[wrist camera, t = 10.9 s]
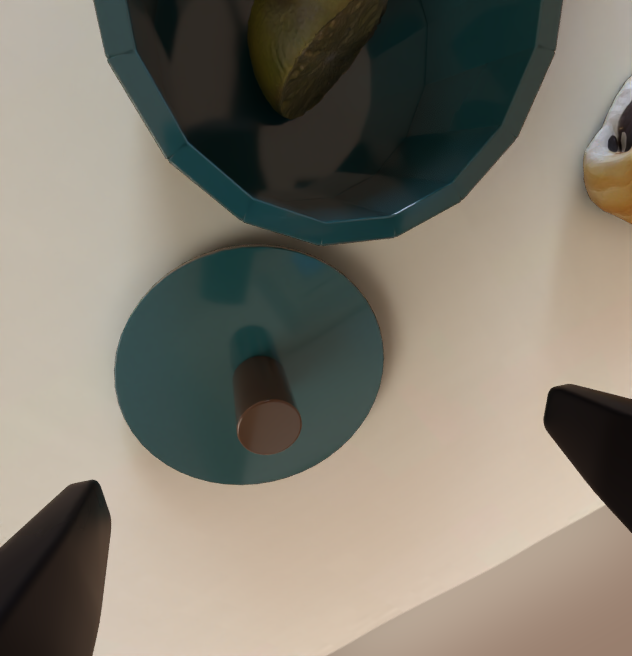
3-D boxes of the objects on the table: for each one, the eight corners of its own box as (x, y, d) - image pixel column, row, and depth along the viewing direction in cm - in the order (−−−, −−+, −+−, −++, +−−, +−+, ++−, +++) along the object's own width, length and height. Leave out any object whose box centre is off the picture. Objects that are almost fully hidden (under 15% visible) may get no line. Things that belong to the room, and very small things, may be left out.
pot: (374, -211, 14) (513, -527, 7) (466, 139, 19) (595, 128, 13) (61, -50, 13) (-73, -237, 7) (242, 261, 18) (259, 313, 12)
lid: (313, 189, 18) (348, 200, 13) (407, 397, 24) (455, 455, 19) (56, 329, 18) (-1, 389, 13) (213, 506, 23) (213, 593, 19)
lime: (370, 5, 16) (435, -59, 11) (339, 140, 17) (385, 133, 13) (255, -42, 14) (275, -136, 10) (232, 109, 16) (240, 89, 11)
